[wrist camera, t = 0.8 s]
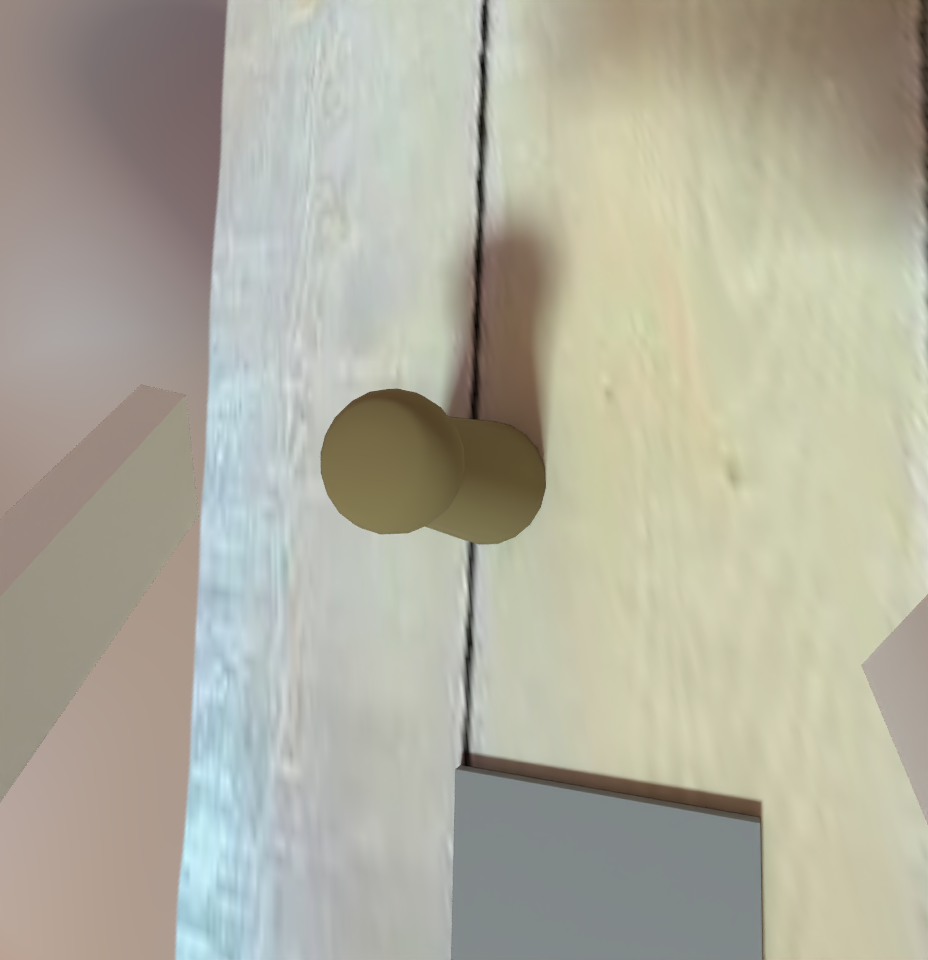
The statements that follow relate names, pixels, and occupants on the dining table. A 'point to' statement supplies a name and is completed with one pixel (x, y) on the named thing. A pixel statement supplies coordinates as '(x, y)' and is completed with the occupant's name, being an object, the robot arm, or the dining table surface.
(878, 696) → the robot arm
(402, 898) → the dining table surface
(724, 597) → the dining table surface
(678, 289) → the dining table surface
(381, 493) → the cork
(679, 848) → the mat
